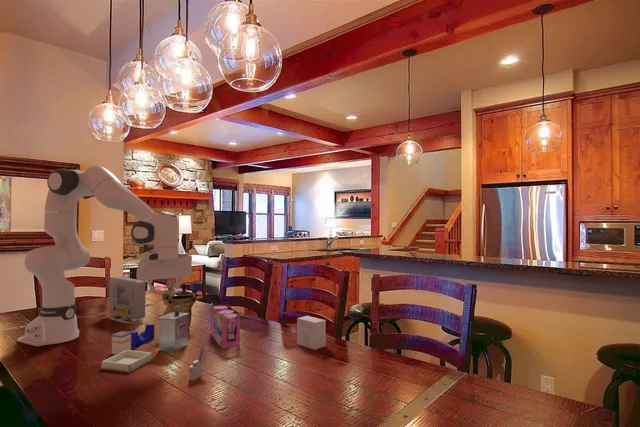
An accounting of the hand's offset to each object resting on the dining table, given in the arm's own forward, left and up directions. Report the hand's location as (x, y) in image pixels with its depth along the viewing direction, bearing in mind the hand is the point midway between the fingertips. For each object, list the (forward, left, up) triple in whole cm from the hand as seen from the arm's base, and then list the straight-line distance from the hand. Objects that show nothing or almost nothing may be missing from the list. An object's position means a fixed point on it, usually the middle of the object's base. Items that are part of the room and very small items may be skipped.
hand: (165, 290), depth 143 cm
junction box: (+2, +3, -23) cm, 23 cm away
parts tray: (-3, -15, -23) cm, 28 cm away
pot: (-10, +24, -23) cm, 35 cm away
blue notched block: (-15, +5, -23) cm, 29 cm away
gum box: (+16, +17, -23) cm, 33 cm away
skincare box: (+53, +20, -23) cm, 61 cm away
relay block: (-14, -6, -23) cm, 28 cm away
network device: (-47, +33, -23) cm, 62 cm away
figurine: (-34, +51, -23) cm, 65 cm away
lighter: (+26, -17, -23) cm, 39 cm away
